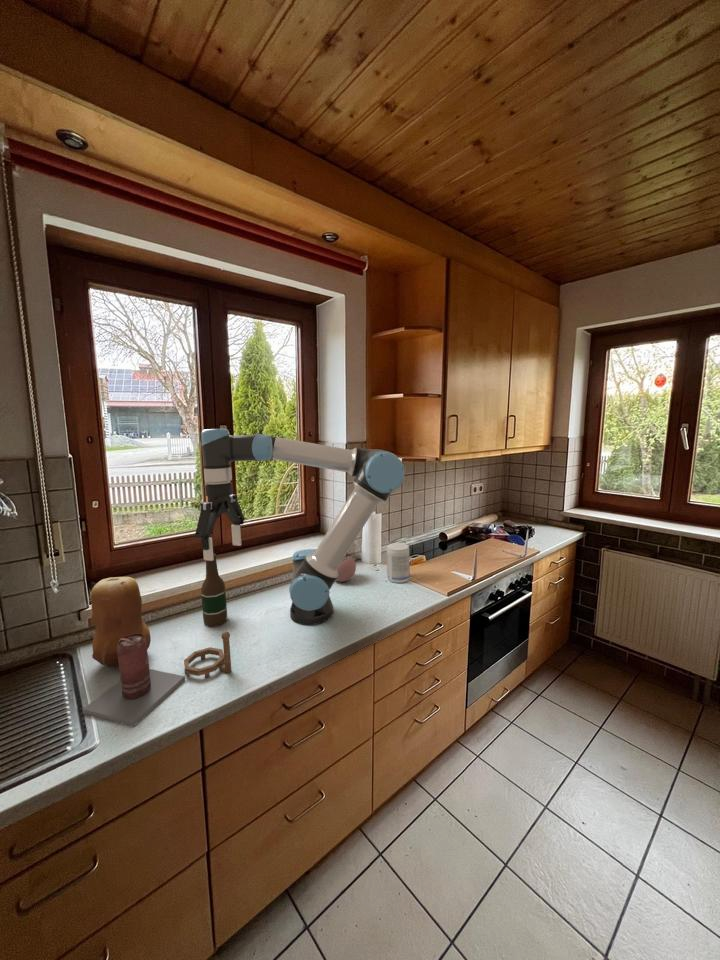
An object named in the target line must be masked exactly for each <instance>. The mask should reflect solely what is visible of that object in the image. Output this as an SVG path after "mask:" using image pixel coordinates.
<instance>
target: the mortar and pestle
mask: <svg viewBox="0 0 720 960" xmlns="http://www.w3.org/2000/svg"><path fill="white" fill-rule="evenodd" d="M337 571H338V577H337V579H336V580H335V582H340V583H341V582H347V581H349V580H351V579H352V578H353V576H354V575H355V573H356V571H357V564H356V561H355V559H354V558H353V557H351V558H348V559H345V560H344V559H343V560H342V562H341V563H340V565H339V566H338V568H337Z"/></svg>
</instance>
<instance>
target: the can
mask: <svg viewBox="0 0 720 960" xmlns="http://www.w3.org/2000/svg"><path fill="white" fill-rule="evenodd" d="M117 654H118V662H119V666H118V668H119V677H120V681H121V687H122V695H123V697H125V698H126V699H136V698H139V697H142V696H143V695H145V694H146V693H147V692H148V691H149V689H150V687H151V681H150V671H149V669H150V664H149V663H150V662H149V654H148V649H147V644H146V638H145V637H144V636H143V635H142V634H132V635H129V636H126V637H124V638H121V639H120V640H119V642H118V645H117Z"/></svg>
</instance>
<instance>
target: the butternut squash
mask: <svg viewBox="0 0 720 960" xmlns="http://www.w3.org/2000/svg"><path fill="white" fill-rule="evenodd" d="M142 602H143V600H142V595H141V591H140V587H139V584H138V582H137V580H136V579H135V578H133V577H131V576H115V577H114V576H113V577H112V576H111V577H107V578H103V579H101V580H99V581H98V582H96V584H95V585H94V586H93V587H92V589H91V592H90V603H91V611H92V614H91V618H90V619H91V623H92V624H93V626H94V627H95V631H94V635H93V639H92V655H91V656H92V657H91V658H92V659H93V660H94V661H96V662H97V663H99V664H100V665H103V666H104V667H108V668H115V667H119V662H118V654H117V645H118V642H119V640H120V639H121V638H124V637H126V636H129V635H132V634H142V635H143V636H144V637H145V638H146V644H147V650H148V649H150V648H149V647H150V645H151V638H152V637H151V633H150V628H149V627H148V625H147V624H146V622H145V621H144V618H143V616H142V607H143V605H142Z"/></svg>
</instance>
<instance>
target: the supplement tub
mask: <svg viewBox="0 0 720 960" xmlns="http://www.w3.org/2000/svg"><path fill="white" fill-rule="evenodd" d="M386 546H387V547H386V566H387V567H386V568H387V570H386V572H387V573H386V574H387V580H388V581H389V582H392V583H396V584H404V583H406V582H408V581H410V579H411V573H410V572H411V570H410V569H411V567H410V563H411V562H410V561H411V560H410V558H411V557H410V553H411V552H410V545H408V544H406V543H402V542H394V543H390V544H388V545H386Z"/></svg>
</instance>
